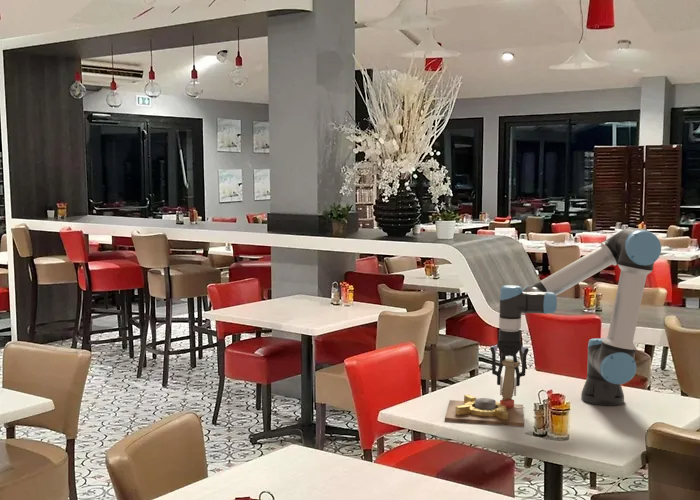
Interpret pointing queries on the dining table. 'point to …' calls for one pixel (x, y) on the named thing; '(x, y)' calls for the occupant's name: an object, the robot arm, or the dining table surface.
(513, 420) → the board
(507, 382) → the handle
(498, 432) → the dining table surface
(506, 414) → the ring nut
